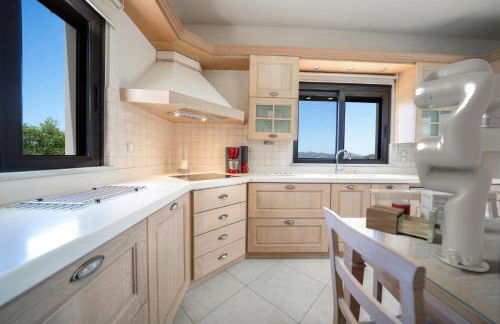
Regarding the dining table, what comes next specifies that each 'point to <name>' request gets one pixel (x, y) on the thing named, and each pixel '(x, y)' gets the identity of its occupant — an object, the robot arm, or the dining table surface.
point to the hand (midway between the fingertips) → (486, 167)
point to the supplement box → (434, 204)
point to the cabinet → (383, 218)
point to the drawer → (419, 225)
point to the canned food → (402, 206)
